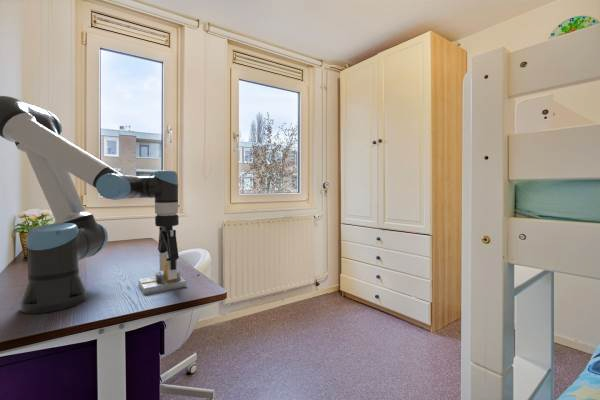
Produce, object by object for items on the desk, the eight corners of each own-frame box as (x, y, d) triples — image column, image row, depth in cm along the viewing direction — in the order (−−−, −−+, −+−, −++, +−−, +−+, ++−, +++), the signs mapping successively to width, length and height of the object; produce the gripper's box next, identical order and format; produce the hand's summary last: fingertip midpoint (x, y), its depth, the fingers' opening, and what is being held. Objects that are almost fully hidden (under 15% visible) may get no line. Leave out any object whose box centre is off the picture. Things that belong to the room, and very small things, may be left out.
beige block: (165, 281, 102) (165, 261, 102) (162, 278, 105) (161, 259, 105) (178, 279, 104) (177, 259, 104) (174, 276, 108) (174, 257, 107)
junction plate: (144, 294, 95) (144, 280, 95) (138, 284, 104) (138, 272, 104) (186, 286, 102) (185, 273, 102) (177, 278, 112) (176, 266, 112)
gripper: (188, 216, 96) (189, 281, 97) (169, 211, 116) (170, 265, 117) (163, 217, 92) (164, 285, 92) (148, 212, 111) (149, 268, 112)
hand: (168, 274), depth 104 cm, fingers open, 13 cm apart
